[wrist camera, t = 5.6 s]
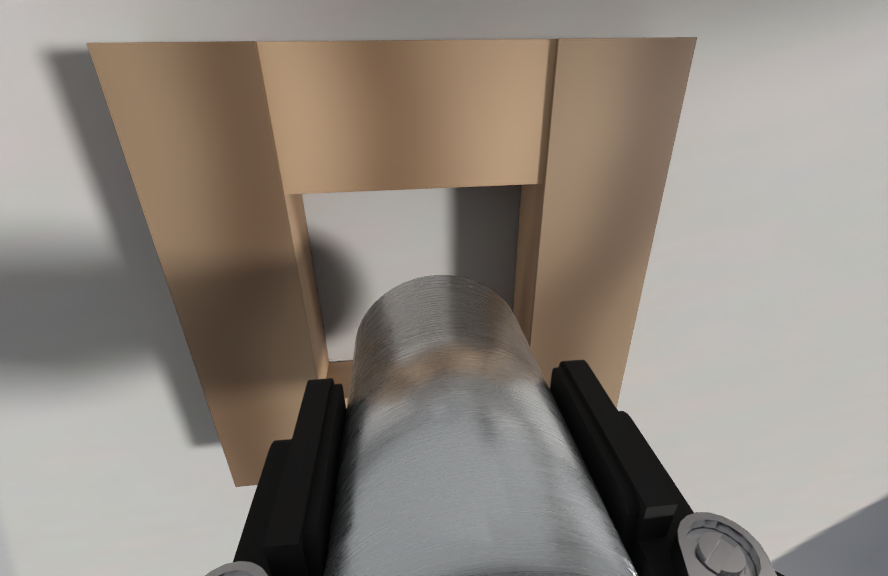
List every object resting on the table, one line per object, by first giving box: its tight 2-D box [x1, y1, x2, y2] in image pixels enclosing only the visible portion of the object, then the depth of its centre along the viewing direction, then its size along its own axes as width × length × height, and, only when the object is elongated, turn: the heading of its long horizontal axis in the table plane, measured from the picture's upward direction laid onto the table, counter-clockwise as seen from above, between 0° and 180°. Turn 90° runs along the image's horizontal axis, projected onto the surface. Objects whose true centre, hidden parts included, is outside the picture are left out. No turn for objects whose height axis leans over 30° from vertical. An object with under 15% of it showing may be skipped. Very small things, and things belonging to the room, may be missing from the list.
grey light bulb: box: [324, 275, 638, 576], centre depth 9 cm, size 6×6×10 cm
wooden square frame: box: [87, 37, 697, 487], centre depth 16 cm, size 16×16×3 cm
